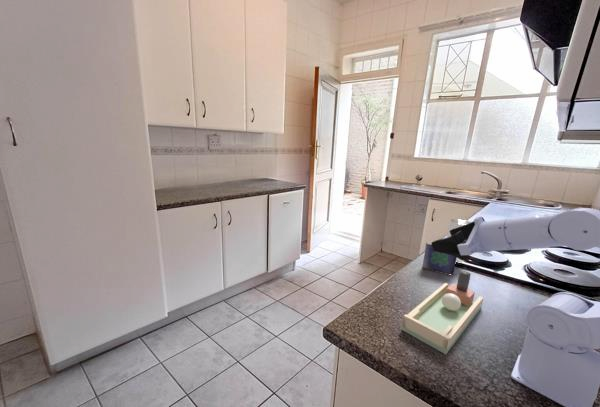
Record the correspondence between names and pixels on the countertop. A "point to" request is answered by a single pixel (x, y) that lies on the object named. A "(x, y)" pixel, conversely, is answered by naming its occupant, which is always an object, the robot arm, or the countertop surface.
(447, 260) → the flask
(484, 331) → the countertop surface
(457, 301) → the ball
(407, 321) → the pitch
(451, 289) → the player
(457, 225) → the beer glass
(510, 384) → the countertop surface
